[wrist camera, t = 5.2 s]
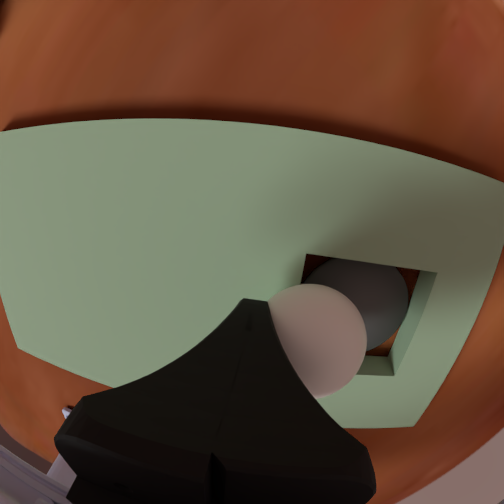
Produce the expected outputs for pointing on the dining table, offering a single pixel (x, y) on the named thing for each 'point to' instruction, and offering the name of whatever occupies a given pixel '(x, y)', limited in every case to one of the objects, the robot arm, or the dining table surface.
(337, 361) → the ball
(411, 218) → the putting mat
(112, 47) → the dining table surface
